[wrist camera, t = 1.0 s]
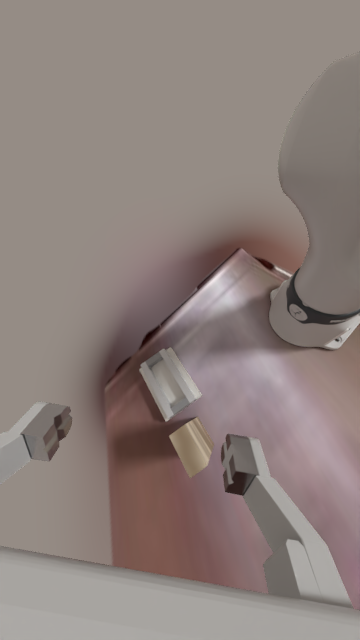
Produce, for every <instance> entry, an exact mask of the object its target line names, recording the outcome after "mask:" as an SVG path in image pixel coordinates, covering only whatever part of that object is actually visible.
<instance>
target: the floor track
mask: <svg viewBox="0 0 360 640" xmlns="http://www.w3.org/2000/svg"><path fill="white" fill-rule="evenodd" d="M140 366H141V367H142V368H140V369H139V370H140V372H141V374H142V376H143V378H144V380H145V382H146V384H147V386H148V388H149V390H150V392H151V394H152V396H153V398H154V400H155V402H156V404H157V406H158V408H159V409H160V411H161V413H162V415H163V417H164V419H165V421H166V422H167V421H168V420H170V419H171V418H172V417H174V416H175V415H177V414H178V413H179V412H181V411H182V410H183V409H185V408H186V407H188V406H189V405H190V404H192V403H193V402H194V401H196V400H197V399H199V398H200V397H201V396H202V394H201V392H200V391H199V389H198V388H197V386H196V385H195V383H194V382H193V380H192V378H191V377H190V375H189V374H188V372H187V371H186V369H185V368H184V366H183V365H182V363H181V361H180V360H179V358H178V357H177V355H176V354H175V352H174V351H173V349H172V348H171V347H170V348H168V349H167V350H166V349H164V348H163V349H162V350H161V351H159V352H158V353H156V354H155V355H154V356H152V357H151V358H149V359H148V360H146V361H145V362H144V363H142V364H141V365H140Z"/></svg>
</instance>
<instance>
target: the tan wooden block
mask: <svg viewBox="0 0 360 640" xmlns="http://www.w3.org/2000/svg"><path fill="white" fill-rule="evenodd" d="M169 437H170V439H171V441H172V443H173V445H174V447H175V449H176V451H177V453H178V455H179V457H180V459H181V461H182V463H183V465H184V467H185V469H186V471H187V473H188V475H189V477H190V478H192V477H193V476H194V475H196V474H197V473H198V472H200V471H201V470H202V469H204V468H205V467H206V466H207V465H208V462H209V459H210V456H211V452H212V449H213V446H214V443H213V442H212V440H211V438H210V437H209V435H208V433H207V432H206V430H205V428H204V427H203V425H202V423H201V422H200V420H199V418H198V417H197V418H195V419H193V420H191V421H190V422H188V423H186V424H185V425H183V426H182V427H181V428H179V429H178V430H176V431H175V432H174V433H172V434H171V435H170V436H169Z"/></svg>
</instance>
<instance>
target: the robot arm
mask: <svg viewBox="0 0 360 640" xmlns="http://www.w3.org/2000/svg"><path fill="white" fill-rule="evenodd" d="M278 174H279V181H280V184H281V188H282V190H283V192H284V193H285V194H286V195H287V196H288V197H289V198H290V199H291V201H292V202H293V203H294V204H295V205H296V207H297V208H298V210H299V212H300V213H301V215H302V217H303V219H304V221H305V224H306V227H307V230H308V235H309V248H308V252H307V254H306V257H305V259H304V262H303V264H302V266H301V267H300V268H299V269H298V270H297V271H296V272H295V273H294V275H293V276H292V277H291V278H290V279H289V280H285V281H284V282H283V283H282V285H281V286H280V287H279V288H277V289H275V290H273V291H272V292H271V294H270V299H271V307H270V311H269V320H270V324H271V326H272V328H273V330H274V331H275V332H276V333H277V334H278V335H279V336H280V337H281V338H282V339H284V340H285V341H287V342H289V343H291V344H294V345H297V346H302V347H322V348H325V349H329V350H337V349H338V348H339V347H340V346H341V345H342V344H343V343H344V342H345V340H346V339H347V338H348V337H349V335H350V334H351V333H352V332H353V331H354V329H355V328H356V327H357V326H358V324H359V323H360V52H357V53H355V54H352V55H350V56H346V57H344V58H341V59H339V60H336V61H334V62H333V63H332V64H331V65H330V66H329V67H328V68H327V69H326V70H325V71H324V72H323V73H322V74H321V75H320V76H319V77H318V78H317V80H316V81H315V82H314V83H313V84H312V86H311V87H310V88H309V90H308V91H307V92H306V94H305V95H304V97H303V98H302V100H301V101H300V103H299V105H298V106H297V108H296V109H295V111H294V113H293V115H292V117H291V119H290V121H289V123H288V126H287V128H286V131H285V133H284V136H283V139H282V143H281V147H280V152H279V159H278ZM335 339H337V340H338V342H337V341H335ZM70 412H71V410H70V407H68V406H62V405H57V404H52V403H47V402H41V401H39V402H37V403H35V404H34V405H33V406H32V407H31V409H29V410H28V412H27V413H26V414H25V415H24V416H23V417H22V418H21V419H20V420H19V421H18V422H17V423H16V424H15V425H14V426H13V427H12V428H11V429H10V430H9V431H8V432H3V433H1V434H0V484H1V483H3V482H4V481H5V480H6V479H8V478H9V477H10V476H12V475H13V474H14V473H15V472H17V471H18V470H19V469H20V468H22V467H23V466H24V465H26V464H27V463H28V462H29V461H31V459H35V460H43V461H50V460H51V458H52V457H53V455H54V454H55V452H56V451H57V449H58V448H59V441H60V440H62V439H63V438H64V437H66V435H67V434H68V432H69V430H70V427H71V424H72V417H71V416H70V415H69V413H70ZM221 461H222V465H223V467H224V468H225V472H224V474H223V478H224V487H225V492H227V493H232V494H237V495H242V496H243V498H244V500H245V502H246V503H247V505H248V507H249V509H250V511H251V513H252V515H253V516H254V518H255V520H256V522H257V524H258V526H259V527H260V529H261V531H262V533H263V535H264V537H265V538H266V540H267V542H268V544H269V546H270V548H271V550H272V551H273V554H272V555H271V556H270V557H269V558H268V559H267V560H266V561H265V562H264V564H263V567H264V572H265V577H266V582H267V587H268V592H269V594H268V593H262V592H256V591H251V590H245V589H240V588H234V587H228V586H223V585H217V584H211V583H206V582H200V581H195V580H189V579H183V578H178V577H172V576H167V575H161V574H155V573H150V572H144V571H139V570H133V569H127V568H122V567H116V566H110V565H105V564H99V563H94V562H87V561H82V560H77V559H71V558H65V557H60V556H54V555H48V554H43V553H37V552H32V551H26V550H21V549H14V548H9V547H4V546H0V640H360V610H357V609H354V608H353V606H352V604H351V601H350V599H349V597H348V594H347V592H346V589H345V587H344V585H343V582H342V580H341V578H340V575H339V573H338V570H337V568H336V566H335V563H334V561H333V559H332V556H331V554H330V551H329V549H328V547H327V545H326V543H325V542H324V541H323V540H322V538H321V537H320V536H319V534H318V533H317V532H316V531H315V529H314V528H313V527H312V526H311V524H310V523H309V522H308V520H307V519H306V518H305V517H304V515H303V514H302V513H301V512H300V510H299V509H298V508H297V506H296V505H295V504H294V503H293V501H292V500H291V499H290V498H289V496H288V495H287V494H286V493H285V491H284V490H283V489H282V487H281V486H280V485H279V484H278V482H277V481H276V480H275V479H274V478H271V475H270V472H269V469H268V466H267V463H266V460H265V456H264V453H263V450H262V447H261V444H260V441H259V440H258V439H257V438H251V437H247V436H240V435H234V434H227V435H226V442H225V443H223V445H222V450H221Z"/></svg>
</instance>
